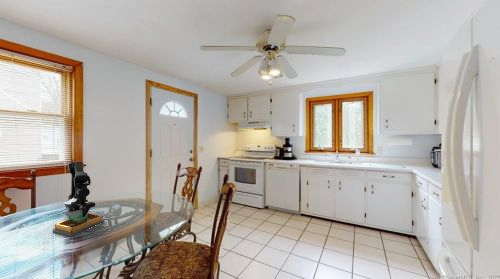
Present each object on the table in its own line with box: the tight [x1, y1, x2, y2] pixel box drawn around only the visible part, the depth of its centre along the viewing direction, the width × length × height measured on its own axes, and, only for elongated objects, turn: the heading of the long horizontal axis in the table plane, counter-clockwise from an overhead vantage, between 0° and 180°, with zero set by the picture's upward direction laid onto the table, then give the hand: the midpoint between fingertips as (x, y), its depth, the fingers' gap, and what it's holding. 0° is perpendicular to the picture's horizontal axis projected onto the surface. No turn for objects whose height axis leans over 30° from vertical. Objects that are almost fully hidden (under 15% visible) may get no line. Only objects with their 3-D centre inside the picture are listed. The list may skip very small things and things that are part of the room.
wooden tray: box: [52, 212, 105, 238], centre depth 133 cm, size 16×21×5 cm
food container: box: [66, 209, 89, 227], centre depth 133 cm, size 12×6×10 cm, turn 165°
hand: (80, 216), depth 133 cm, fingers open, 6 cm apart
